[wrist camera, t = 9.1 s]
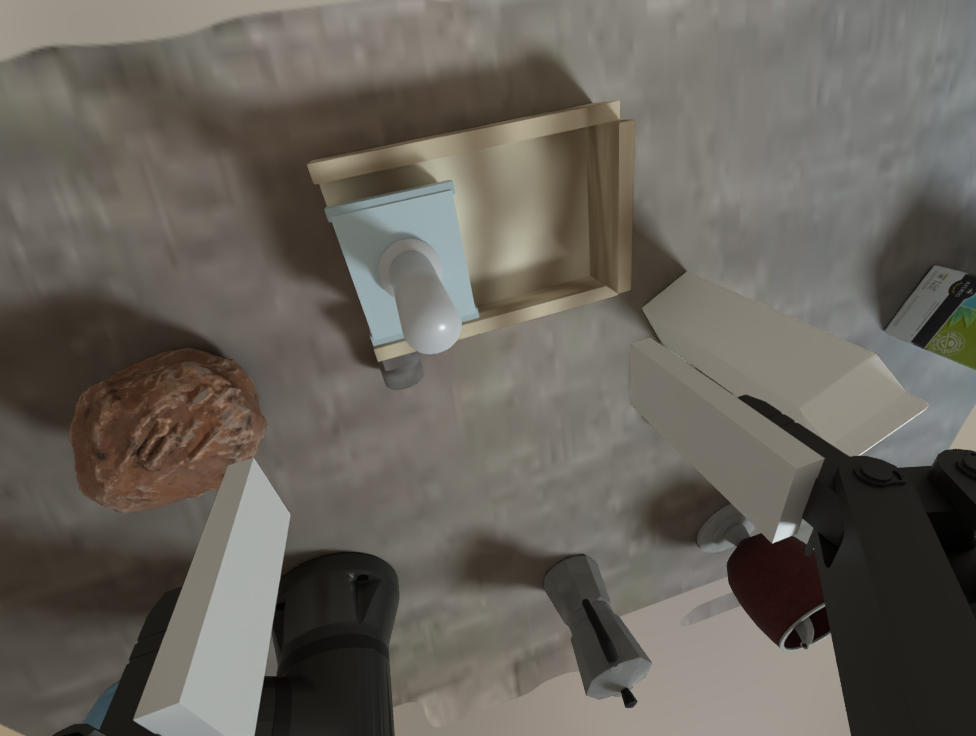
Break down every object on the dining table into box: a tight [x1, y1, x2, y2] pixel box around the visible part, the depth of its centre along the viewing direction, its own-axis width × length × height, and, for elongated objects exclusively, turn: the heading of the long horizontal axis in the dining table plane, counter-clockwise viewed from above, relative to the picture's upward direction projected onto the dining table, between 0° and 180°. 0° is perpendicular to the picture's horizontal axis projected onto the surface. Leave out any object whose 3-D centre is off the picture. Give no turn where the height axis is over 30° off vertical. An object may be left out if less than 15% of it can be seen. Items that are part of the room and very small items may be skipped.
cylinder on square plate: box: [324, 180, 479, 354], centre depth 27 cm, size 8×10×15 cm
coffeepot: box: [543, 555, 652, 708], centre depth 57 cm, size 15×9×18 cm, turn 18°
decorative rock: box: [70, 348, 268, 514], centre depth 32 cm, size 13×11×10 cm
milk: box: [642, 271, 928, 457], centre depth 36 cm, size 6×6×22 cm
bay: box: [307, 101, 635, 390], centre depth 34 cm, size 22×18×6 cm
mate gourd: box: [697, 504, 831, 652], centre depth 63 cm, size 16×14×20 cm
